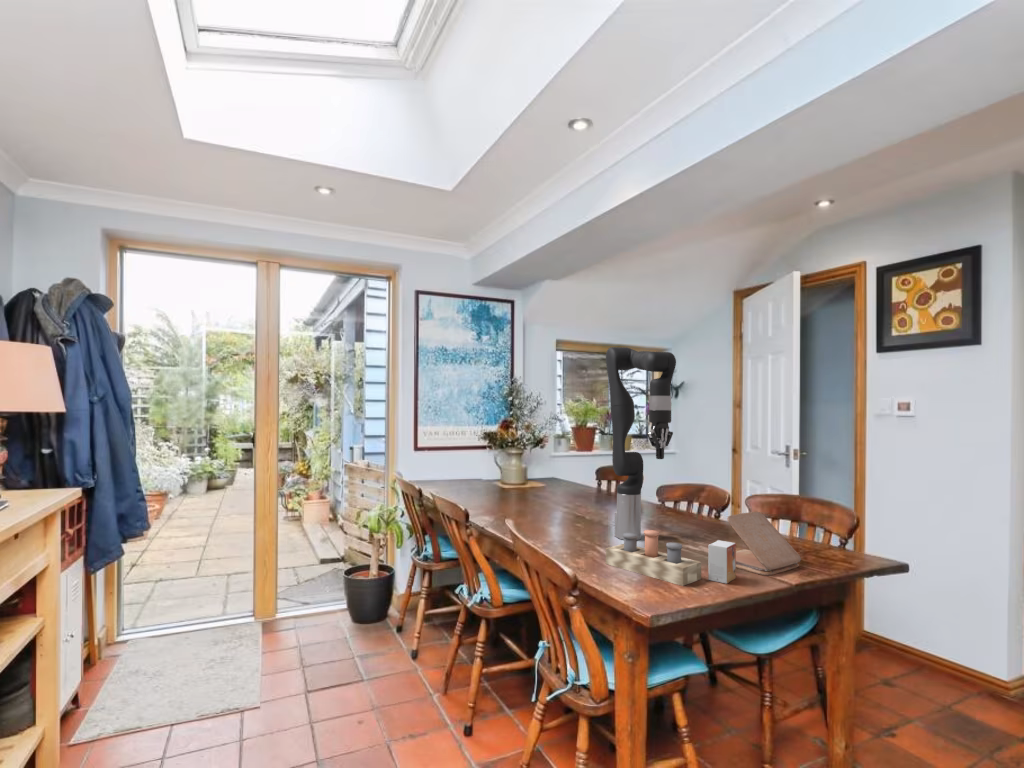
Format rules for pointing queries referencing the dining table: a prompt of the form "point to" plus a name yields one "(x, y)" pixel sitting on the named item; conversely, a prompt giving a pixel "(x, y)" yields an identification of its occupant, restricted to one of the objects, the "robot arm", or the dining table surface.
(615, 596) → the dining table surface
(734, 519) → the case
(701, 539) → the dining table surface
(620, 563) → the socket block
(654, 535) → the plug mid
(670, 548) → the plug right
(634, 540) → the plug left
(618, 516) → the robot arm
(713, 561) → the small box
